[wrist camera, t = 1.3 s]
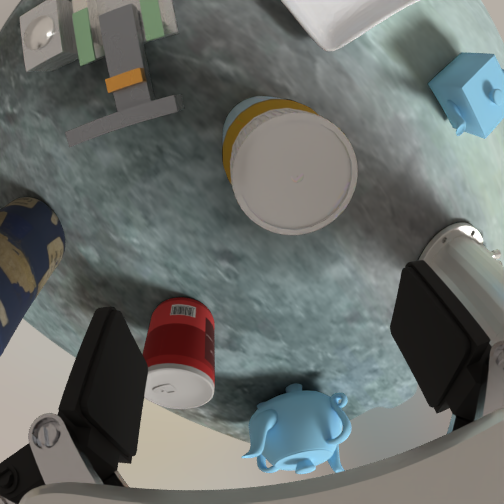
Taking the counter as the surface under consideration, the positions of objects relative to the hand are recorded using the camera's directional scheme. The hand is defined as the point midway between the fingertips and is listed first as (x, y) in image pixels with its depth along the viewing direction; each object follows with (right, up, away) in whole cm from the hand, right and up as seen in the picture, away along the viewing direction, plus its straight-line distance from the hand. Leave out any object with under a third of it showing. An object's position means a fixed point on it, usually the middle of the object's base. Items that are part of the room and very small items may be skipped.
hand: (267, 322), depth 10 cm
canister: (-26, +5, +20) cm, 33 cm away
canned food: (-9, -6, +28) cm, 30 cm away
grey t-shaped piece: (-11, +18, +11) cm, 24 cm away
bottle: (0, +13, +17) cm, 22 cm away
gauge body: (-14, +24, +9) cm, 29 cm away
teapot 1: (+6, -24, +40) cm, 47 cm away
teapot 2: (+21, +20, +16) cm, 33 cm away
